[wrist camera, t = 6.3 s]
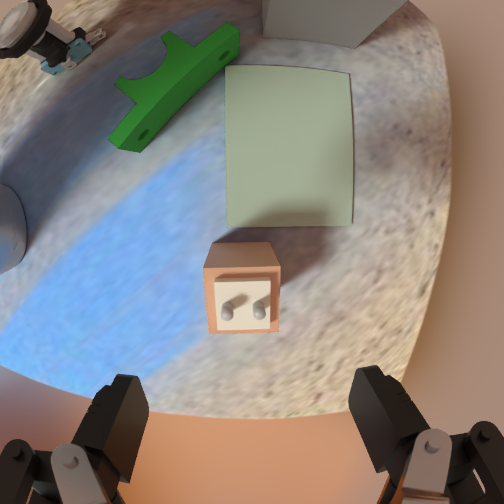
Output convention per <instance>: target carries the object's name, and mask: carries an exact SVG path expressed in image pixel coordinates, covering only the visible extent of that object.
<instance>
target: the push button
mask: <svg viewBox="0 0 504 504" xmlns="http://www.w3.org/2000/svg"><path fill="white" fill-rule="evenodd" d="M51 13H52V9H51V7H50V6H49V5H48V4H47V0H28V1H27V2H26V1H25V2H21V3H19V4H18V5H17V6H15V7H14V8H13V9H12V10H11V11H10V12H9V13H8V14H7V15H6V16H5V17H4V19H3V20H2V22H1V23H0V59H5V58H19V57H20V56H22V55H23V54H27V55H29V56H31V57H33V58H36V59H37V61H38V62H41V70H43V71H45V72H47V73H50V74H51V75H57V74H59V73H60V72H61V71H62V70H64V69H67V70H70V69H72V68H74V67H75V66H77V63H75V62H76V61H78V60H79V59H81V58H83V57H84V56H86V55H88V54H89V53H91V52H92V45H94V44H96V42H97V41H99V40H101V39H103V38H105V37H106V32H105V31H104V32H102V28H101V27H100V28H98V29H96V30H95V31H93V32H89V33H88V34H86V32H85V31H84V30H83V29H82V28H80V27H78V28H76V29H74V30H73V31H71V32H69V31H68V30H66V29H65V28H63V27H62V26H61V25H59V24H58V23H56V22H55V21H54V20H52V19H51V18H50V17H51ZM96 31H99V32H98V33H97V34H95V32H96ZM100 35H103V36H102V37H101V38H99V36H100ZM70 65H73V66H71V67H68V66H70Z"/></svg>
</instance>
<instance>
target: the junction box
mask: <svg viewBox="0 0 504 504" xmlns="http://www.w3.org/2000/svg"><path fill="white" fill-rule="evenodd" d="M261 1H262V26H263V38H281V39H294V40H304V41H312V42H319V43H326V44H332V45H338V46H343V47H348V48H353V49H355V48H356V47H357V46H358V45H359V44H360V43H361V42H362V41H363V40H364V39H365V38H366V37H367V36H368V35H370V34H371V33H372V32H373V31H374V30H375V29H376V28H377V27H378V26H379V25H380V24H382V23H383V22H384V21H385V20H386V19H387V18H388V17H389V16H391V15H392V14H393V13H394V12H395V11H396V10H397V9H399V8H400V7H401V6H402V5H403V4H405V3H406V2H407V1H408V0H261Z"/></svg>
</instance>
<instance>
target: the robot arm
mask: <svg viewBox="0 0 504 504" xmlns="http://www.w3.org/2000/svg"><path fill="white" fill-rule="evenodd" d="M26 241H27V230H26V221H25V215H24V212H23V208H22V205H21V203H20V201H19V198H18V197H17V195H16V194H15V192H14V191H13V190H12V189H11V188H10V187H8V186H6V185H0V275H1V274H3V273H4V272H6V271H8V270H10V269H12V268H13V267H15V266H16V265H18V264H19V263H20V261H21V259H22V258H23V255H24V252H25V248H26ZM348 403H349V409H350V412H351V414H352V416H353V418H354V421H355V423H356V425H357V427H358V430H359V432H360V434H361V437H362V439H363V442H364V444H365V446H366V449H367V451H368V454H369V456H370V458H371V461H372V463H373V465H374V468H375V470H376V473H380V472H383V471H386V470H387V471H388V473H389V476H388V478H387V480H386V483H385V485H384V488H383V490H382V493H381V495H380V497H379V500H378V502H377V504H504V437H503V436H502V434H501V433H500V431H499V430H498V428H497V427H496V426H495V425H494V424H493V423H491V422H488V421H480V422H478V423H476V424H475V425H474V426H473V427H472V428H471V430H470V431H469V432H468V433H463V434H458V435H450V436H449V435H448V434H446V433H445V432H443V431H442V430H439V429H431V428H430V427H429V425H428V424H427V422H426V421H425V419H424V418H423V416H422V415H421V413H420V412H419V410H418V409H417V407H416V405H415V404H414V403H413V401H411V398H410V397H409V395H408V394H407V393H406V391H405V389H404V388H403V386H402V385H401V383H400V382H399V381H397V380H396V379H394V378H393V377H392V376H390V375H387V376H385V375H384V374H383V372H382V371H381V369H380V368H379V367H378V366H377V365H373V366H368V367H362V368H358V369H357V370H356V372H355V375H354V379H353V383H352V387H351V390H350V394H349V399H348ZM87 411H88V412H87V413H86V414H85V416H84V418H83V420H82V422H81V424H80V426H79V428H78V430H77V432H76V434H75V436H74V438H73V440H72V442H71V443H70V444H63V445H60V446H58V447H57V448H56V449H55V450H54V451H53V452H49V451H38V450H33V449H32V448H31V447H30V445H29V444H28V443H27V442H26V441H24V440H20V439H15V440H12V441H10V442H9V443H7V445H6V446H5V447H4V449H3V451H2V453H1V455H0V504H26V502H27V499H28V496H29V493H30V490H31V487H32V488H33V492H32V495H31V498H30V501H29V504H126V503H125V502H124V500H123V498H122V496H121V494H120V493H119V491H118V489H117V486H118V483H119V481H121V482H125V483H130V479H131V476H132V472H133V468H134V465H135V461H136V457H137V454H138V450H139V447H140V443H141V440H142V436H143V433H144V430H145V426H146V423H147V420H148V416H149V406H148V402H147V399H146V397H145V394H144V391H143V388H142V385H141V382H140V380H139V378H138V376H134V375H125V374H117V375H116V377H115V379H114V381H113V383H112V384H111V386H109V385H105V386H104V387H103V388H102V389H101V390H100V391H98V392H97V393H96V395H95V397H94V399H93V401H92V405H90V406H89V408H88V410H87ZM474 469H475V470H476V472H477V474H478V475H479V477H480V479H481V481H482V483H483V485H484V487H485V493H484V492H483V490H482V488H481V486H480V484H479V482H478V480H477V478H476V477H475V474H474V473H473V470H474Z"/></svg>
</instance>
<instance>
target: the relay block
mask: <svg viewBox="0 0 504 504" xmlns="http://www.w3.org/2000/svg"><path fill="white" fill-rule="evenodd" d="M280 270H281V266H280V264H279V262H278V259H277V257H276V255H275V253H274V251H273V249H272V247H271V244H270V242H234V243H212V245H211V247H210V250H209V253H208V256H207V258H206V261H205V264H204V267H203V275H204V288H205V299H206V310H207V321H208V330H209V334H235V333H263V332H279V308H280Z"/></svg>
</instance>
